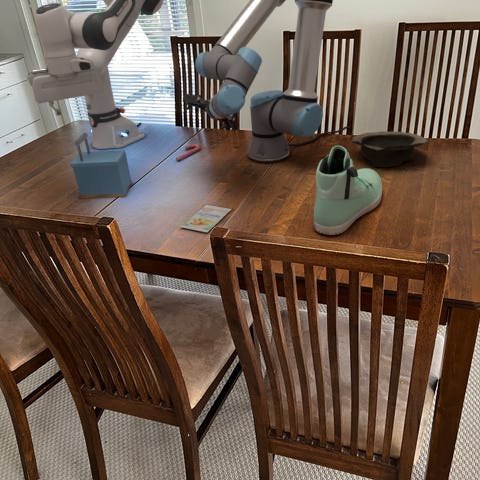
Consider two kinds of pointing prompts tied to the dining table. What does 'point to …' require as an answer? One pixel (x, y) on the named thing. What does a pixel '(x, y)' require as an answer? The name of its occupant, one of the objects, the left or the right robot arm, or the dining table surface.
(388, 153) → the stone bowl
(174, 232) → the dining table surface
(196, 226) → the baking ingredient package
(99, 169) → the chest
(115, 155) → the lid
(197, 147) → the candy cane
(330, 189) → the sneaker
